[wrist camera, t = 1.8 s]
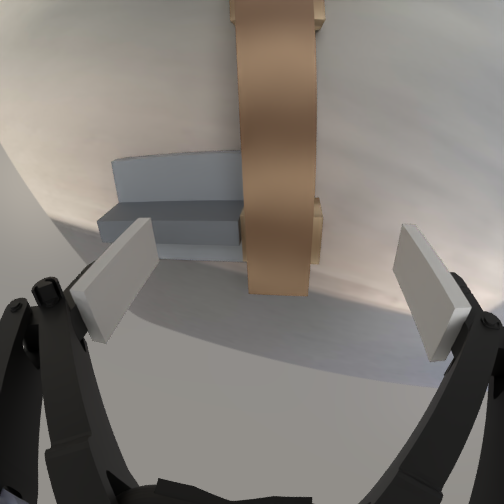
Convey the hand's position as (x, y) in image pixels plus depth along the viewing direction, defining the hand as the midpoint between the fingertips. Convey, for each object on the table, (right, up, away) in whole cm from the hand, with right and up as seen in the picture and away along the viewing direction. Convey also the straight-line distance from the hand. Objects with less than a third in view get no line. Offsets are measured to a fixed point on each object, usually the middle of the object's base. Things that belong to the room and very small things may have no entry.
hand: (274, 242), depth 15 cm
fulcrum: (-7, +4, +12) cm, 14 cm away
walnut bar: (+1, +8, +3) cm, 9 cm away
